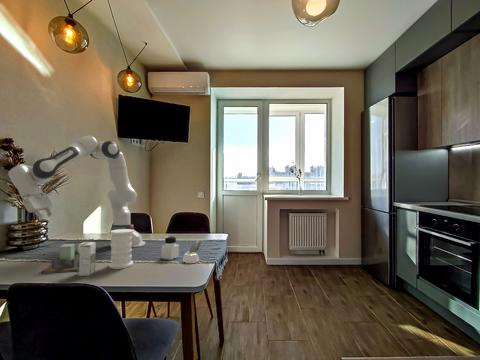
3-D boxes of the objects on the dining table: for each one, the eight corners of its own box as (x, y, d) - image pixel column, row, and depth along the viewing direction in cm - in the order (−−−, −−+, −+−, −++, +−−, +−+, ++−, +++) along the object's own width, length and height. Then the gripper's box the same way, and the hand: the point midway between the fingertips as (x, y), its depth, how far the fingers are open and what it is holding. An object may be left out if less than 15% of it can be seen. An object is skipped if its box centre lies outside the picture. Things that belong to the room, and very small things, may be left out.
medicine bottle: (179, 257, 168) (179, 236, 168) (171, 260, 162) (171, 238, 162) (169, 255, 171) (169, 235, 171) (161, 258, 165) (161, 237, 165)
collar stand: (89, 262, 156) (89, 252, 156) (78, 271, 140) (78, 260, 140) (56, 263, 153) (56, 253, 153) (41, 272, 137) (41, 262, 137)
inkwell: (179, 262, 157) (179, 244, 157) (193, 254, 174) (193, 237, 174) (195, 264, 154) (195, 245, 154) (207, 255, 172) (207, 238, 172)
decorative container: (109, 270, 142) (110, 233, 142) (108, 264, 153) (108, 229, 153) (134, 267, 148) (135, 231, 148) (131, 261, 158) (132, 228, 158)
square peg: (74, 263, 149) (74, 244, 149) (70, 266, 144) (70, 246, 144) (63, 264, 148) (63, 244, 148) (59, 266, 143) (59, 246, 143)
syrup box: (82, 272, 138) (82, 241, 139) (95, 272, 139) (95, 241, 139) (76, 276, 133) (77, 244, 133) (90, 276, 133) (90, 244, 133)
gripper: (27, 191, 141) (43, 216, 142) (46, 190, 161) (60, 211, 162) (14, 198, 140) (30, 223, 141) (35, 196, 160) (49, 217, 161)
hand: (46, 217), depth 152 cm, fingers open, 8 cm apart
